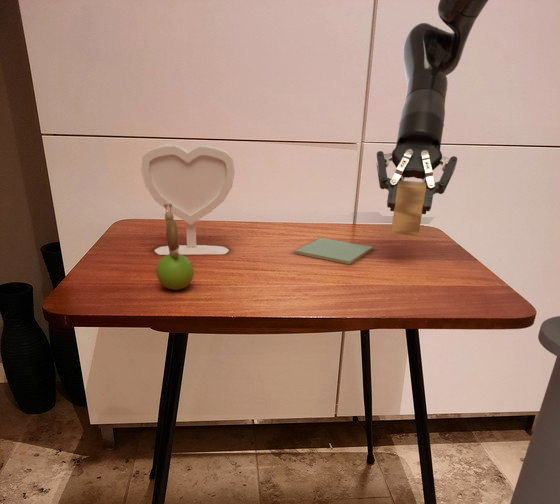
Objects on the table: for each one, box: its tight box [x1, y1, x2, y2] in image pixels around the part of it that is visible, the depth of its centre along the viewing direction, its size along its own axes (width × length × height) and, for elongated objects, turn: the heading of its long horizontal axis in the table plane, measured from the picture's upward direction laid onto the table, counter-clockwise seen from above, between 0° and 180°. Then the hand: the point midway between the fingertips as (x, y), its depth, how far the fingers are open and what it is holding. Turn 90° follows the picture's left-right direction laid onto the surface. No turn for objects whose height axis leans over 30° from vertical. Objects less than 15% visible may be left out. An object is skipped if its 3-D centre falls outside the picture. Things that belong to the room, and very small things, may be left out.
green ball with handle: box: [156, 203, 194, 291], centre depth 80 cm, size 5×6×12 cm
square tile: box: [294, 237, 373, 265], centre depth 103 cm, size 11×11×1 cm
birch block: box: [390, 180, 426, 237], centre depth 93 cm, size 5×5×8 cm
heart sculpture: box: [140, 143, 235, 256], centre depth 96 cm, size 16×5×18 cm, turn 98°
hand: (408, 209), depth 91 cm, fingers closed on birch block, 4 cm apart
